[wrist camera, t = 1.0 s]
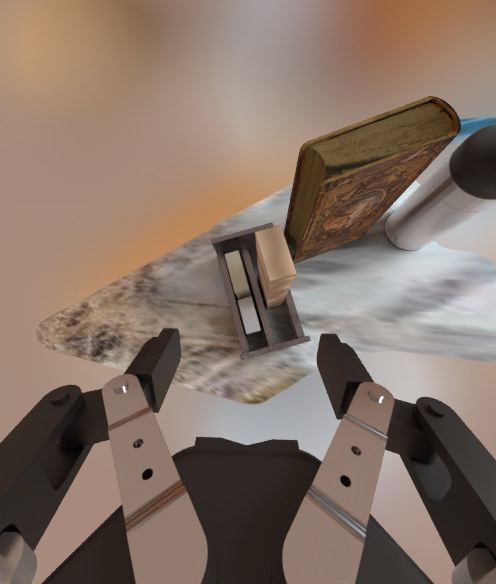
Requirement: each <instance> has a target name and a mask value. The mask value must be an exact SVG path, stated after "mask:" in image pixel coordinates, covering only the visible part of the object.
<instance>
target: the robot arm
mask: <svg viewBox="0 0 496 584" xmlns="http://www.w3.org/2000/svg"><path fill="white" fill-rule="evenodd" d="M495 204H496V125H492V126H488V127H485V128H482V129H480V130H478V131H476V132H475V133H473V134H472V135H471V136H469V137H468V138H467V139H466V140H465V141H464V142H463V143H462V144H461V145H460V146H459V147H458V148H457V149H456V150H455V151H454V152H453V153H452V154H451V155H450V156H449V157H448V158H447V159H446V160H445V161H444V162H443V163H442V164H441V165H440V166H439V167H438V168H437V169H436V170H435V171H434V172H433V173H432V174H431V175H430V176H429V177H428V178H427V179H426V180H425V181H424V182H423V183H422V184H421V185H420V186H419V187H418V188H417V189H416V190H415V191H414V192H413V193H412V194H411V195H410V196H409V197H408V198H407V199H406V200H405V201H404V202H403V203H402V204H401V205H400V206H399V207H398V208H397V209H396V210H395V211H394V212H393V213H392V214H391V215H390V216H389V217H388V219H387V221H386V223H385V232H386V235H387V237H388V239H389V240H390V241H391V242H392V243H393V244H394V245H395V246H397V247H399V248H401V249H404V250H417V249H420V248H422V247H424V246H426V245H427V244H429V243H431V242H433V241H434V240H436V239H438V238H439V237H441V236H443V235H444V234H446V233H448V232H449V231H451V230H453V229H454V228H456V227H458V226H460V225H461V224H463V223H465V222H466V221H468V220H469V219H471V218H473V217H475V216H476V215H478V214H480V213H481V212H483V211H485V210H486V209H488V208H490V207H491V206H493V205H495ZM180 359H181V346H180V337H179V330H178V329H173V328H164V329H163V330H162V331H161V333H160V335H159V336H158V337H153V338H151V339H150V340H148V341H147V342H146V343H145V344H144V346H143V347H142V349H141V350H140V351H139V353H138V354H137V356H136V357H135V359H134V360H133V361H132V363H131V364H130V366H129V367H128V369H127V370H126V372H125V373H124V375H120V376H117V377H115V378H113V379H112V380H110V381H109V382H108V383H106V385H105V386H104V387H103V389H100V390H94V391H90V392H85V393H82V392H81V389H80V388H79V387H78V386H76V385H66V386H62V387H59V388H57V389H55V390H53V391H51V392H49V393H48V394H47V395H45V396H44V397H43V398H42V399H41V400H40V401H39V403H37V405H36V406H35V407H34V408H33V409H32V410H31V411H30V412H29V413H28V414H27V415H26V416H25V417H24V418H23V419H22V421H21V422H20V423H19V424H18V425H17V426H16V427H15V428H14V429H13V430H12V431H11V433H9V435H8V436H7V437H6V438H5V439H4V440H3V441H2V442H1V443H0V584H31V583H32V580H33V578H34V576H35V572H36V568H37V558H36V555H35V553H34V550H35V548H36V546H37V544H38V543H39V541H40V539H41V537H42V536H43V534H44V532H45V530H46V528H47V527H48V525H49V523H50V521H51V520H52V518H53V516H54V514H55V512H56V511H57V509H58V507H59V505H60V504H61V502H62V500H63V498H64V496H65V494H66V493H67V491H68V489H69V487H70V486H71V484H72V482H73V480H74V479H75V477H76V475H77V473H78V471H79V470H80V468H81V466H82V464H83V462H84V461H85V459H86V457H87V455H88V453H89V452H90V450H91V448H92V446H93V445H94V444H95V443H99V442H102V441H106V440H110V444H111V449H112V454H113V459H114V465H115V470H116V475H117V480H118V486H119V490H120V496H121V501H122V505H121V506H120V507H119V508H118V509H117V510H116V511H115V512H114V513H113V514H112V515H111V516H110V517H109V518H108V519H106V520H105V521H104V523H103V524H101V525H100V526H99V527H98V528H97V529H96V530H95V531H94V532H93V533H92V534H91V535H90V536H89V537H88V538H87V539H86V540H85V541H84V542H83V543H82V544H81V545H80V546H79V547H78V548H77V549H76V550H75V551H74V552H73V553H72V554H71V555H70V556H69V557H68V558H67V559H66V560H65V561H64V562H63V563H62V564H61V565H60V566H59V567H58V568H57V569H56V570H55V571H54V572H53V573H52V574H51V575H50V576H49V577H48V578H47V579H46V580H45V581H44V582H43V583H42V584H434V583H433V582H432V581H431V580H430V579H429V578H428V577H427V575H426V574H425V573H424V572H423V571H422V570H421V569H420V568H419V567H418V566H417V564H415V562H414V561H413V560H412V559H411V558H410V557H409V556H408V555H407V554H406V553H405V552H404V550H403V549H402V548H401V547H400V546H399V545H398V544H397V543H396V542H395V540H394V539H393V538H392V537H391V536H390V535H389V534H388V533H387V532H386V531H385V529H384V528H383V527H382V526H381V525H380V524H379V523H378V522H377V521H376V520H375V518H374V517H373V516H372V515H371V514H370V511H371V506H372V502H373V498H374V494H375V489H376V485H377V481H378V477H379V472H380V468H381V464H382V460H383V455H384V451H385V450H388V451H391V452H394V453H397V454H399V455H400V457H401V459H402V461H403V463H404V465H405V467H406V469H407V471H408V473H409V475H410V477H411V479H412V481H413V483H414V485H415V487H416V489H417V491H418V493H419V495H420V497H421V499H422V501H423V503H424V505H425V507H426V509H427V511H428V513H429V515H430V517H431V519H432V521H433V523H434V525H435V527H436V529H437V531H438V533H439V535H440V537H441V539H442V541H443V543H444V545H445V547H446V549H447V551H448V553H449V555H450V557H451V559H452V561H453V563H454V565H455V569H454V570H453V573H452V584H496V460H495V459H494V458H493V456H492V455H491V454H490V453H489V452H488V450H487V449H486V448H485V447H484V446H483V444H482V443H481V442H480V441H479V440H478V439H477V438H476V436H475V435H474V434H473V433H472V432H471V430H470V429H469V428H468V427H467V426H466V425H465V423H464V422H463V421H462V420H461V418H460V417H459V416H458V415H457V414H456V413H455V412H454V410H452V409H451V408H450V407H449V406H447V405H446V404H444V403H443V402H441V401H439V400H436V399H434V398H429V397H421V398H419V399H418V400H417V401H416V404H411V403H408V402H404V401H401V400H397V399H395V398H394V397H393V395H392V394H391V393H390V392H389V391H388V390H387V389H386V388H384V387H383V386H381V385H379V384H376V383H374V381H373V380H372V378H371V376H370V375H369V373H368V372H367V370H366V368H365V367H364V365H363V364H362V363H361V361H360V359H359V358H358V356H357V354H356V353H355V351H354V349H352V348H351V347H350V346H349V345H347V344H346V343H341V341H340V340H339V338H338V336H337V335H336V334H321V336H320V341H319V347H318V352H317V366H318V369H319V372H320V375H321V377H322V380H323V383H324V385H325V388H326V390H327V394H328V396H329V399H330V402H331V404H332V407H333V410H334V412H335V415H336V418H337V419H342V420H341V422H340V424H339V427H338V429H337V431H336V433H335V435H334V437H333V440H332V442H331V444H330V446H329V449H328V450H327V453H326V455H325V457H324V459H323V461H322V462H321V461H320V460H319V459H317V458H316V457H315V456H313V455H311V454H309V453H307V452H305V451H303V450H300V449H299V447H298V441H297V440H273V439H272V440H268V441H264V442H260V443H256V444H251V445H243V444H240V443H237V442H233V441H230V440H226V439H224V438H213V437H196V441H195V446H192V447H189V448H186V449H184V450H182V451H180V452H178V453H176V454H175V455H173V456H172V457H171V455H170V452H169V450H168V447H167V445H166V442H165V440H164V437H163V435H162V433H161V430H160V427H159V425H158V423H157V420H156V418H155V415H154V413H158V412H159V410H160V408H161V405H162V403H163V401H164V398H165V396H166V394H167V391H168V389H169V386H170V384H171V382H172V379H173V377H174V375H175V372H176V370H177V367H178V365H179V363H180Z"/></svg>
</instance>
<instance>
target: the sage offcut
mask: <svg viewBox="0 0 496 584" xmlns="http://www.w3.org/2000/svg"><path fill="white" fill-rule="evenodd" d="M225 258H226V262H227V266H228V269H229V273H230V277H231V281H232V284H233V288H234V292H235V294H236V295H237V297H238V299H239V300H240V299H243V298H247V297H251V293H250V290H249V286H248V282H247V279H246V275H245V272H244V268H243V265H242V261H241V258H240V254H239V251H234V252H231V253H227V254H225Z"/></svg>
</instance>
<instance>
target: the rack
mask: <svg viewBox="0 0 496 584" xmlns="http://www.w3.org/2000/svg"><path fill="white" fill-rule="evenodd" d="M272 227H273V224H272V223H269V224H265V225H262V226H258V227H255V228H251V229H248V230H244V231H241V232H237V233H234V234H230V235H226V236H223V237H219V238H216V239H212V240H211V243H212V245H213V247H214V249H215V251H216V253H217V257H218V261H219V265H220V268H221V272H222V276H223V280H224V284H225V288H226V292H227V296H228V300H229V304H230V308H231V311H232V315H233V319H234V323H235V327H236V331H237V335H238V339H239V343H240V347H241V350H242V354H241V355H240V357H241V360H243V359H247V358H250V357H254V356H257V355H261V354H265V353H268V352H272V351H275V350H279V349H283V348H286V347H290V346H293V345H297V344H301V343H304V342H308V341H311V340H310V337H309V336H304V332H303V329H302V326H301V323H300V320H299V317H298V314H297V311H296V308H295V304H294V301H293V298H292V295H291V292H290V289H289V291H288V293H287V295H286V297H285V299H284V304H285V307H286V310H287V313H288V317H289V320H290V323H291V326H292V330H293V333H294V336H295V339H292V340H288V341H284V342H281V343H277V344H275V341H274V338H273V335H272V331H271V328H270V324H269V321H268V317H267V314H266V310H265V307H264V304H263V300H262V297H261V293H260V290H259V286H258V283H257V279H256V276H255V273H254V269H253V266H252V262H251V259H250V255H249V252H248V251H251V250H255V249H257V248H256V236H255V232H257V231H261V230H264V229H268V228H272ZM234 251H239V254H241V253H242V254H243V258H244V261H245V265H246V268H247V272H248V275H249V279H250V282H251V286H252V289H253V293H254V297H255V300H256V304H257V307H258V311H259V314H260V318H261V321H262V325H263V328H264V332H265V335H266V339H267V342H268V346H266V347H263V348H259V349H256V350H252V351H250V348H249V345H248V341H247V337H246V333H245V330H244V326H243V322H242V318H241V314H240V311H239V307H238V303H237V299H236V296H235V292H234V288H233V284H232V281H231V277H230V273H229V269H228V266H227V262H226V258H225V254H227V253H231V252H234Z"/></svg>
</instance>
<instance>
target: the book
mask: <svg viewBox="0 0 496 584" xmlns="http://www.w3.org/2000/svg"><path fill="white" fill-rule="evenodd" d="M460 128H461V123H460V119H459V117H458V115H457V113H456V112H455V110H454V109H453V108H452V107H451V106H450V105H449V104H448V103H447V102H445V101H444V100H442V99H439V98H437V97H432V96H429V97H427V98H424V99H421V100H418V101H416V102H413V103H410V104H408V105H405V106H402V107H399V108H397V109H394V110H391V111H389V112H386V113H383V114H381V115H378V116H375V117H373V118H370V119H367V120H365V121H362V122H359V123H356V124H354V125H351V126H348V127H345V128H343V129H340V130H337V131H335V132H332V133H329V134H327V135H324V136H321V137H318V138H316V139H313V140H310V141H308V142H306V143H304V144H303V145H302V147H301V149H300V152H299V157H298V162H297V167H296V172H295V177H294V183H293V188H292V193H291V198H290V204H289V209H288V214H287V219H286V225H285V230H284V237H285V240H286V242H288V243H289V244H291V245H292V247H293V248H294V250H295V254H294V257H293V263H297V262H300V261H303V260H305V259H308V258H311V257H314V256H316V255H319V254H322V253H324V252H327V251H330V250H332V249H335V248H338V247H340V246H343V245H346V244H348V243H351V242H354V241H356V240H359V239H361V238H362V236H363V235H364V234H365V233H366V232H367V231H368V230H369V229H370V228H371V227H372V226H373V225H374V224H375V223H376V221H377V220H378V219H379V218H380V217H381V216H382V215H383V214H384V213H385V212H386V211H387V210H388V209H389V208H390V206H391V205H392V204H393V203H394V202H395V201H396V200H397V199H398V198H399V197H400V196H401V195H402V194H403V193H404V191H405V190H406V189H407V188H408V187H409V186H410V185H411V184H412V183H413V182H414V181H415V180H416V179H417V177H418V176H419V175H420V174H421V173H422V172H423V171H424V170H425V169H426V168H427V167H428V166H429V165H430V164H431V163H432V161H433V160H434V159H435V158H436V157H437V156H438V155H439V154H440V153H441V152H442V151H443V150H444V148H445V147H446V146H447V145H448V144H449V143H450V142H451V141H452V140H453V139H454V138H455V137H456V136H457V135H458V133H459V132H460Z"/></svg>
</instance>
